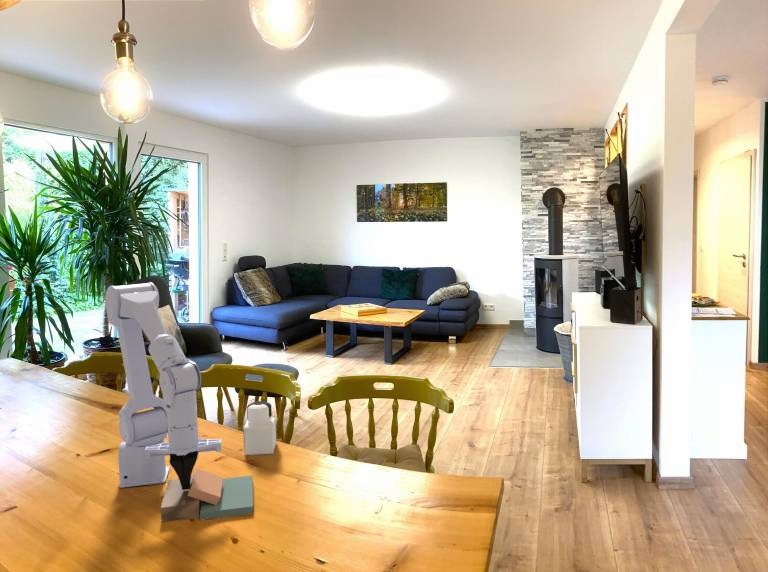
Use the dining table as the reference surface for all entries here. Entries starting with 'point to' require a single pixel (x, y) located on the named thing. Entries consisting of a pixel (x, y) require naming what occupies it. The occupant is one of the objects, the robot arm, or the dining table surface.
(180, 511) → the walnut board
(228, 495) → the teal rectangular slab
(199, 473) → the terracotta tile
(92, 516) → the dining table surface
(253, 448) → the medicine bottle
